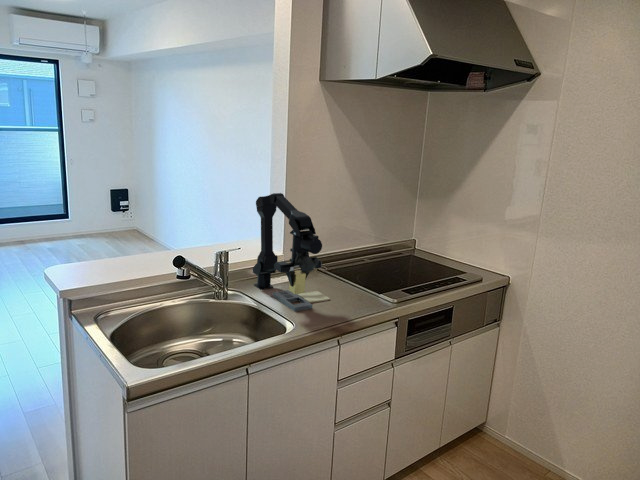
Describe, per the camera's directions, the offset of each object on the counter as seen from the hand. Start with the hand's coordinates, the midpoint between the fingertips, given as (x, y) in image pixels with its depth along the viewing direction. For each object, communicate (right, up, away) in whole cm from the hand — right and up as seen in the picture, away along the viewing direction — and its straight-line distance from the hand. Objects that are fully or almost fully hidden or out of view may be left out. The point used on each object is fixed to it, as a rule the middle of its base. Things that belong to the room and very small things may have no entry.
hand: (297, 285), depth 194 cm
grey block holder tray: (-2, -7, +5) cm, 9 cm away
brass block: (0, -2, +1) cm, 3 cm away
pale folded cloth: (+6, -6, +11) cm, 14 cm away
